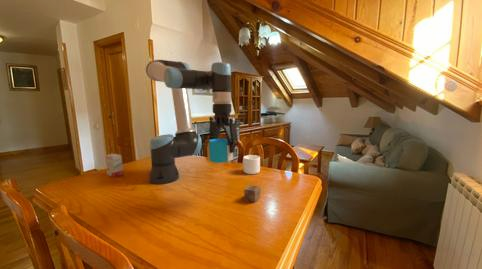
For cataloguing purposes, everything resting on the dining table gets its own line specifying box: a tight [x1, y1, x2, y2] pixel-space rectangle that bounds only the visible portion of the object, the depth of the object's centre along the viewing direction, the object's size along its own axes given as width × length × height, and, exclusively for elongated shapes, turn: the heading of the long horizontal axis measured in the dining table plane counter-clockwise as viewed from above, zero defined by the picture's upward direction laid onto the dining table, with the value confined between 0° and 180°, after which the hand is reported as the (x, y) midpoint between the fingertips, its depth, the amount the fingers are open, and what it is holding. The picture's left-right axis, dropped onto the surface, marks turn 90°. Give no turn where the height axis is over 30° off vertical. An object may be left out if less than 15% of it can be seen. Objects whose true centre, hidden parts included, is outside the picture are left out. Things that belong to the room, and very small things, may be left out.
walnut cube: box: [243, 184, 261, 204], centre depth 87 cm, size 5×5×5 cm
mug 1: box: [208, 138, 229, 164], centre depth 86 cm, size 12×8×8 cm
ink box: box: [104, 153, 124, 178], centre depth 117 cm, size 9×5×12 cm, turn 58°
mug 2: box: [242, 154, 261, 175], centre depth 122 cm, size 12×10×9 cm
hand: (223, 158), depth 87 cm, fingers closed on mug 1, 8 cm apart
